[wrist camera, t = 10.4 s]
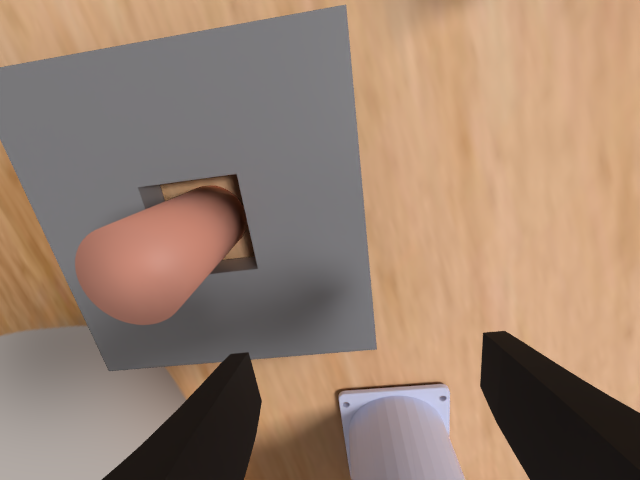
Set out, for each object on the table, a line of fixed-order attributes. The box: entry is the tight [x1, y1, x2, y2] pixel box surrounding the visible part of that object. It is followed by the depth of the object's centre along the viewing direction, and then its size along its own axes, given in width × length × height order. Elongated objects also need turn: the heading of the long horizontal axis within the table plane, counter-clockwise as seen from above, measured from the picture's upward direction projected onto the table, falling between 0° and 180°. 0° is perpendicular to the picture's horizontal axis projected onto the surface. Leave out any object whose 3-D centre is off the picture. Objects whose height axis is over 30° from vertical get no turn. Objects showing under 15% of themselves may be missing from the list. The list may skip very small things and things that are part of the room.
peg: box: [75, 186, 247, 325], centre depth 15 cm, size 4×4×8 cm
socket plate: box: [0, 5, 377, 371], centre depth 17 cm, size 18×18×2 cm
